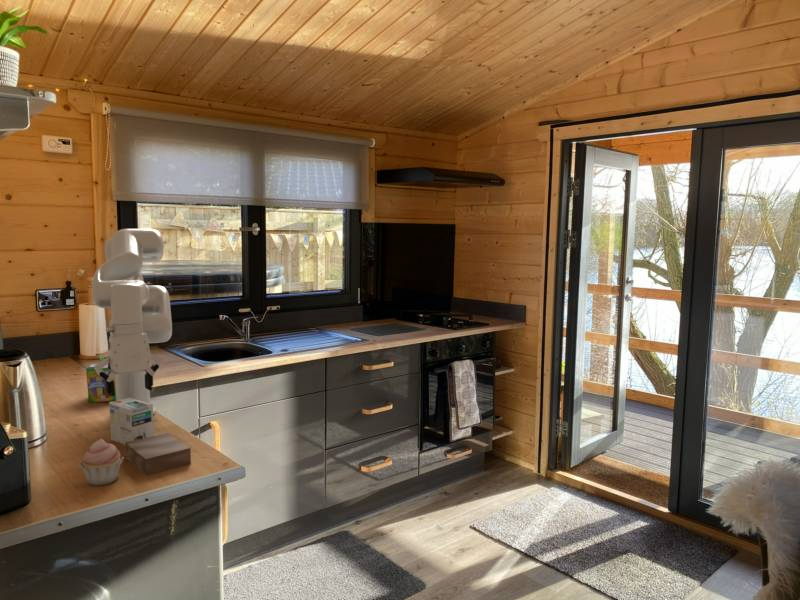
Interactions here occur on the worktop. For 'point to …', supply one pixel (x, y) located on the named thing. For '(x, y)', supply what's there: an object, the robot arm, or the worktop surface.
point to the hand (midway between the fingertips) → (130, 392)
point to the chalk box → (98, 384)
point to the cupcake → (101, 463)
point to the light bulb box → (131, 420)
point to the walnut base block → (157, 453)
